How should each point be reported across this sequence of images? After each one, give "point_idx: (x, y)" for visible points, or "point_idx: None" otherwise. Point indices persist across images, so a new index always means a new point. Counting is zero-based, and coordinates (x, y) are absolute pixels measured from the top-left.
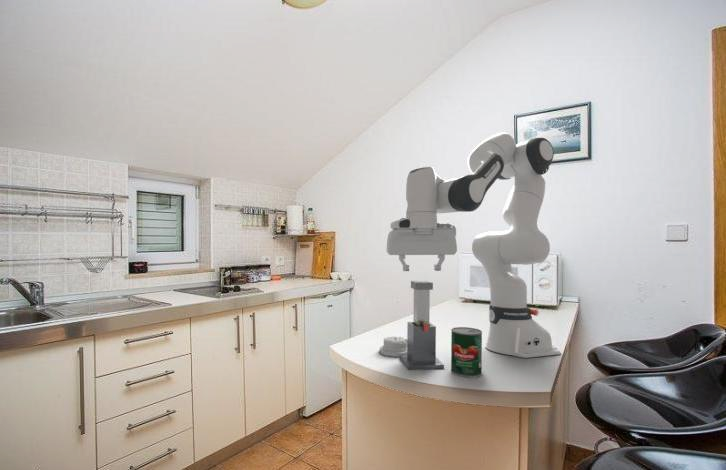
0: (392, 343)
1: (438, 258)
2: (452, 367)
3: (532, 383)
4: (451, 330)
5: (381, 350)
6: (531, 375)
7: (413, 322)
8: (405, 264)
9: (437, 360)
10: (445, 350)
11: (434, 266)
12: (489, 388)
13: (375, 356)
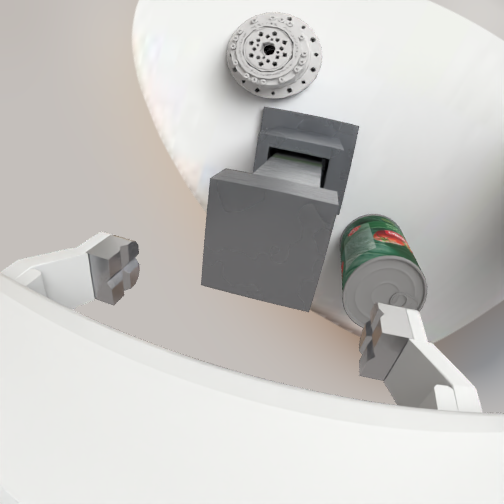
0: (246, 78)
1: (430, 392)
2: (341, 243)
3: (434, 325)
4: (348, 278)
5: (227, 61)
6: (467, 299)
7: (274, 154)
8: (86, 300)
9: (341, 181)
10: (427, 85)
11: (378, 324)
12: (351, 320)
13: (208, 79)
